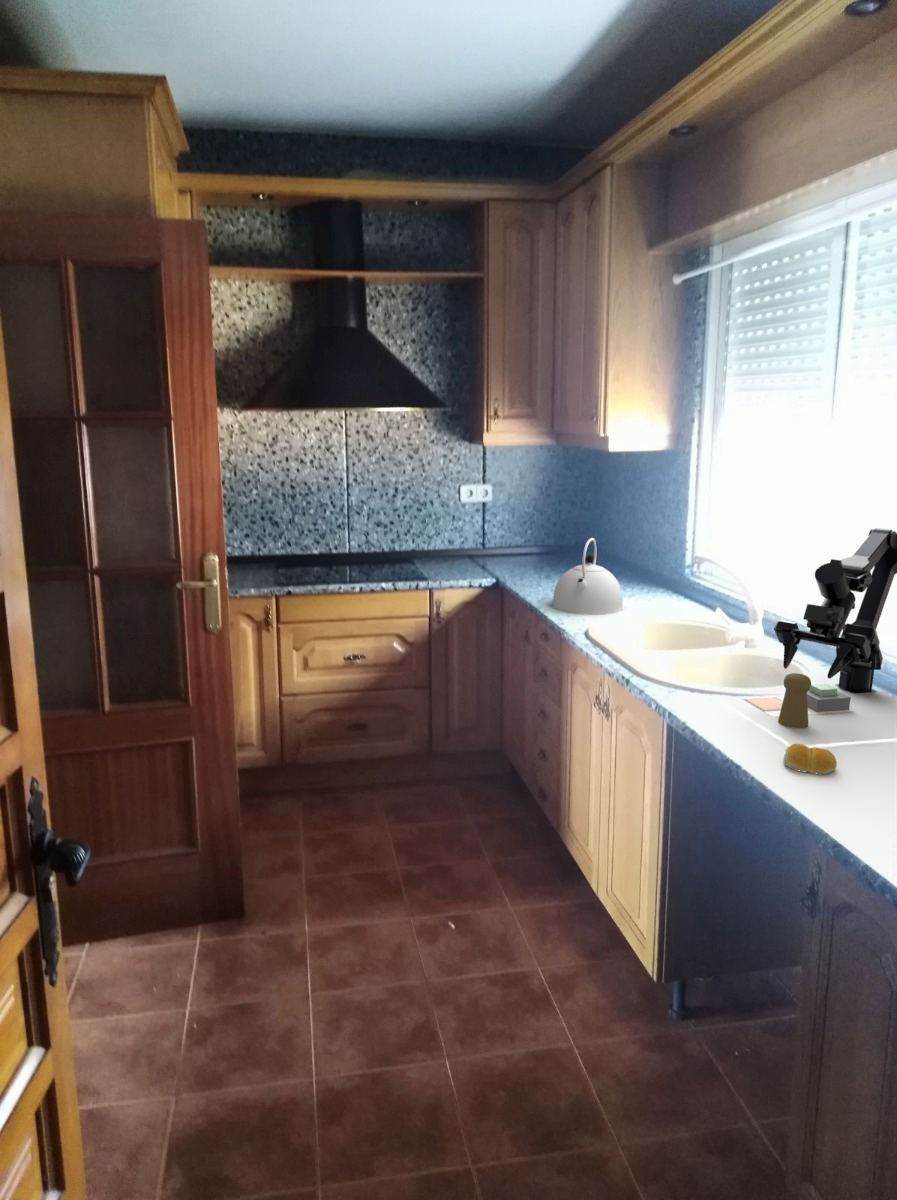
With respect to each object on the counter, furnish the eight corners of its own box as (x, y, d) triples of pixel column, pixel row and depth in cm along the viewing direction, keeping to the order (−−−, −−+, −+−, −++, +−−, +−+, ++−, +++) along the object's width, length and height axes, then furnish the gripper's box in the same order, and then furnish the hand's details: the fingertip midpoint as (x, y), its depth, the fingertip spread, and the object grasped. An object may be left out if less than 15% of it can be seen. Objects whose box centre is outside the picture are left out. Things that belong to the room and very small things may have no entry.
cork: (800, 720, 184) (806, 670, 182) (813, 731, 178) (819, 679, 176) (772, 720, 184) (777, 670, 181) (784, 731, 178) (789, 679, 175)
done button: (824, 693, 194) (825, 683, 194) (836, 699, 190) (837, 688, 190) (808, 694, 193) (809, 684, 193) (819, 700, 189) (821, 689, 189)
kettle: (613, 619, 270) (618, 547, 265) (542, 612, 278) (545, 541, 273) (628, 603, 293) (632, 536, 288) (562, 596, 301) (564, 531, 296)
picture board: (817, 696, 200) (818, 681, 199) (851, 714, 188) (853, 698, 188) (742, 701, 196) (743, 686, 195) (772, 719, 184) (774, 704, 183)
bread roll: (836, 779, 156) (839, 758, 155) (782, 771, 159) (785, 750, 158) (834, 762, 163) (837, 741, 162) (783, 754, 166) (785, 734, 165)
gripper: (782, 583, 188) (753, 641, 182) (872, 597, 175) (844, 660, 170) (794, 613, 195) (766, 670, 190) (882, 629, 182) (855, 691, 177)
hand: (806, 672), depth 181 cm, fingers open, 9 cm apart
